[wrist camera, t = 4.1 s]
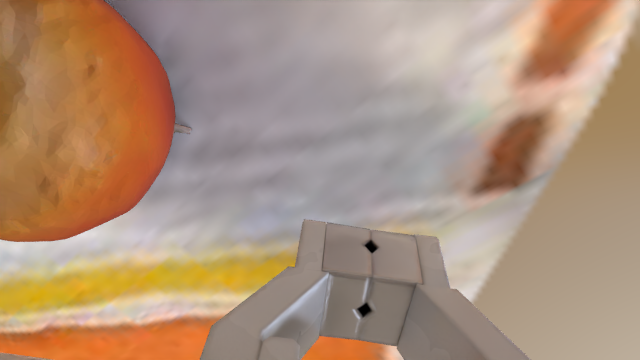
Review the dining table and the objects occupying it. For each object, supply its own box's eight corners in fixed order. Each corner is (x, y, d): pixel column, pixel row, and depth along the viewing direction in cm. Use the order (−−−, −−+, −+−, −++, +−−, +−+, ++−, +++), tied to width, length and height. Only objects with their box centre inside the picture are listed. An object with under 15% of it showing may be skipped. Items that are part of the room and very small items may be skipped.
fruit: (103, 243, 20) (-122, 298, 12) (45, 74, 20) (-207, 24, 13) (263, 177, 17) (109, 192, 10) (193, -13, 18) (-6, -139, 10)
